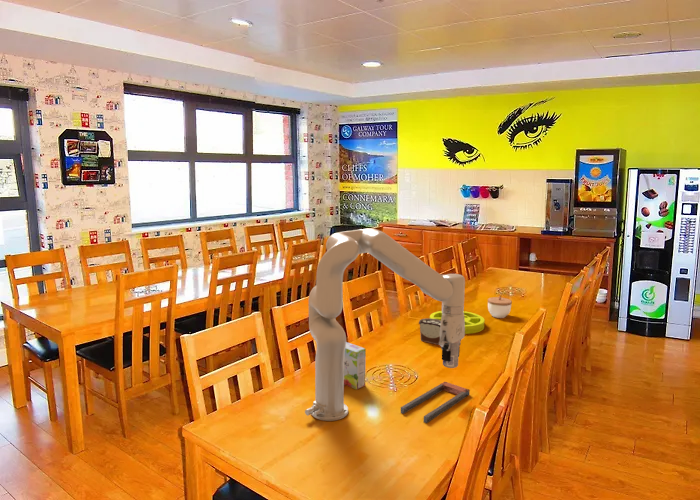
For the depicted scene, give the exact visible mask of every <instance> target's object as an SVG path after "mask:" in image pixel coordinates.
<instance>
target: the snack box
mask: <svg viewBox="0 0 700 500" xmlns="http://www.w3.org/2000/svg"><path fill="white" fill-rule="evenodd" d="M344 386H347V387H349V388H351V389H354V390H359V389H360V388H363V387H365V386H366V348H365V347H362V346H359V345H356V344H354V343H350V342H347V341H346V347H345V353H344Z"/></svg>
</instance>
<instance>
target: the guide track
mask: <svg viewBox="0 0 700 500" xmlns="http://www.w3.org/2000/svg"><path fill="white" fill-rule="evenodd" d="M442 391H445V392H448V393H450V394H454V395H455V396H453V397H451V398H450V399H449V400H447V401H445V402H444V403H442V404H441V405H439V406H437V407H436V408H435V409H432V410H431V411H430V412H428V413H426V414H425V415H424V416H423V423H425V424H428V423H429V422H431V421H433V420H434V419H435V418H437V417H439V416H440V415H442V414H443V413H444V412H446V411H447V410H449V409H451V408H452V407H454V406H455V405H456V404H458V403H460V402H461V401H462V400H464V399H465V398H467V397H469V396H470V391H471V390H470V389H468V388H467V387H466V388H465V387H462V386H459V385H456V384H453V383H450V382H447V381H443V382H442V383H439V384H438V385H436V386H435V387H433V388H431V389H430V390H428V391H426V392H424V393H422V394H421V395H420V396H418V397H416V398H414V399H412V400H411V401H409V402H407V403H406V404H404V405H402V406H401V407H400V414H403V415H404V414H406V413H408V412H410V411H411V410H412V409H414V408H417V406H419V405H421V404H423V403H424V402H425V401H427V400H429V399H431V398H432V397H434V396H435V395H437V394H439V393H441V392H442Z"/></svg>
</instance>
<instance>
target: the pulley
mask: <svg viewBox="0 0 700 500" xmlns="http://www.w3.org/2000/svg"><path fill="white" fill-rule="evenodd" d="M441 318H442V310H439V311H435V312H432V313H430V315H429V319H437V320H440V321H441ZM464 319H465V335H469V334H476V333H477V334H478V333H479V332H481V331H483V330H484V329H485V318H484V317H483V316H481V315H480V314H478V313H474V312H471V311H464Z"/></svg>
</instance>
